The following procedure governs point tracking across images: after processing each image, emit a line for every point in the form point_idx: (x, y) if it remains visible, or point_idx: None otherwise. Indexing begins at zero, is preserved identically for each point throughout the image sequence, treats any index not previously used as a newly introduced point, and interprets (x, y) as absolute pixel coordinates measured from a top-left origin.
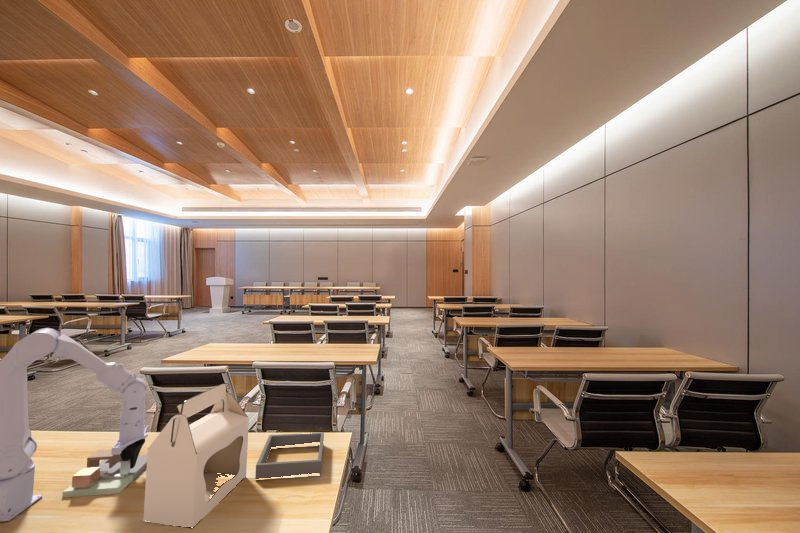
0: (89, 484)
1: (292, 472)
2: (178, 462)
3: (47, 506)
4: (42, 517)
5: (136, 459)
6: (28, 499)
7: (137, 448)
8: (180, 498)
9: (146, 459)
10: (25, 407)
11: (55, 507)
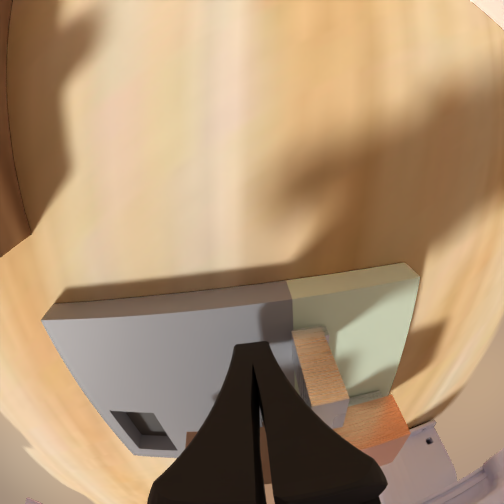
0: (393, 400)
1: None
2: None
3: (403, 410)
4: (451, 379)
5: (239, 376)
6: None
7: (337, 465)
8: None
9: (98, 333)
10: None
11: (417, 391)
